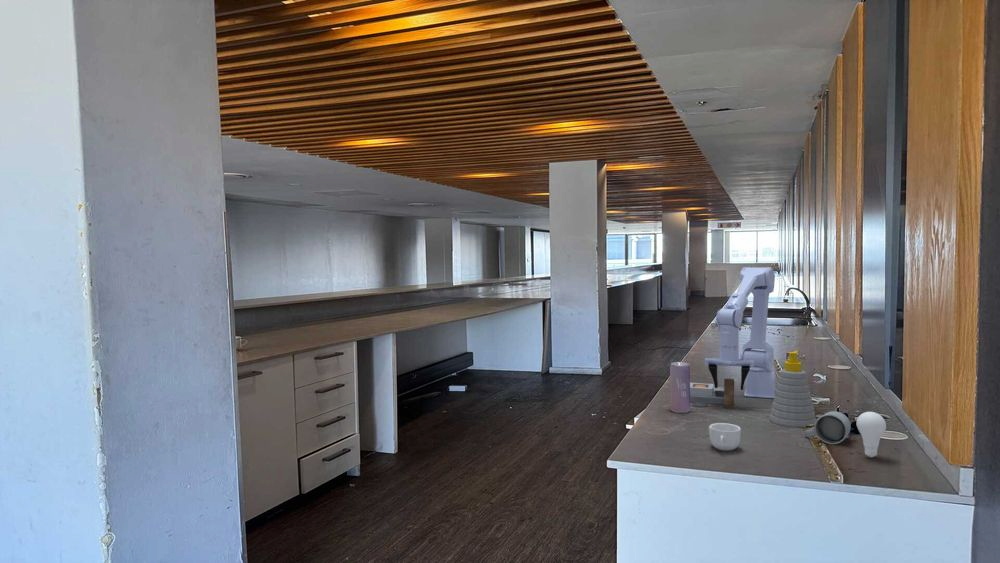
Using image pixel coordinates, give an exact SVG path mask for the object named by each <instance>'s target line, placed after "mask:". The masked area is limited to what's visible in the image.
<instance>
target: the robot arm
mask: <svg viewBox="0 0 1000 563" xmlns="http://www.w3.org/2000/svg"><path fill="white" fill-rule="evenodd" d="M775 278H776V276H775V271H774V269H773V268H772V267H770V266H767V267H753V266H752V267H751V266H750V267H747V266H744V267H742V269H741V270H740V273H739V281H740V284H739V286H738V288H737V290H736V292H733V293H732V294H731V295H730V297H729V299H728V300H727V302H726V303H725V305H724V307H722V308H720V309H719V310H718V311H717V313H716V317H715V322H716V325H717V331H718V332H719V358H718V357H717V358H716V357H714V358H704V366H708V367H707V368H708V371H709V373H710V375H711V377H712V380H713V384H714V387H715V388H718V387H719V385H718V384H719V383H718V382H719V381H718V366H723V367H725V366H726V367H740V368H741V369H740V373H741V374H740V376H741V379H740V391H744V397H749V398H762V399H763V398H766V399H774V396H775V392H776V389H777V386H775V370H773V369H772V368H773V367H774V365H775V355H774V352H775V350H774V348H773V347H772V346H771V344H769V343H768V342H767V341H766V338H767V337H766V336H767V324H768V313H769V312H768V311H769V298H770V294H771V293H773V292H774V289H775V280H776V279H775ZM750 294H752V296H753V299H752V300H753V301H752V311H751V312H752V313H751V322H750V324H751V325H750V338H749V341H747V342H745V343H743V345H742V347H741V353H739V352H740V349H739V348H740V347H739V346H740V345H739V344H740V343H739V341H740V339H739V338H740V337H739V336H740V332H739V330H740V329H739V328H740V326H741V325H742V323H743V317H744V311H745V310H746V308H747V306H748V304H749V299H748V297H749V296H750ZM771 369H772V370H771ZM744 386H745V390H744Z"/></svg>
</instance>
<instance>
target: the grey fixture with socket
mask: <svg viewBox="0 0 1000 563" xmlns="http://www.w3.org/2000/svg"><path fill="white" fill-rule="evenodd" d="M695 385H705V386H706V388H704V387H695ZM714 387H715V384H714V383H701V382H699V383H698V382H690V403H693V402H694V403H705V404H707V403H708V404H711V405H721V406H722V405H724V392H722V391H714Z"/></svg>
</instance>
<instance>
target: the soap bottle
mask: <svg viewBox="0 0 1000 563" xmlns="http://www.w3.org/2000/svg"><path fill="white" fill-rule="evenodd" d="M798 353H800V350H794V351H789V352H788V358H787V360H786V361H784V368H783V369H781V370H780V371H779V376H778V378H777V379H778V380H777V384H776V392H775V396H774V398H773V402H772V408H771V411H770V415H769V420H770V421H771V423H773V424H774V425H775V424H776V425H778V426H782V427H787V428H788V427H790V428H803V427H804V426H807V425H809V424H814V425H815V422H816V420H817V418H816V413H815V409H814V404H813V399H812V393H811V391H810V385H809V381H808V380H809V379H808V377H807V372H806V371H805V370H803V369H802V362H801V361H799V358H798ZM804 428H805V427H804Z"/></svg>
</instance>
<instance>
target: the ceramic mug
mask: <svg viewBox="0 0 1000 563" xmlns="http://www.w3.org/2000/svg"><path fill="white" fill-rule="evenodd" d="M851 429H852V426H851V421H850V419H849V418H848V417H847V416H846V415H845V414H844V413H842V412H840V411H834V410H833V411H832V410H831V411H828V412H826V413H824V414H822V415H820V416H818V417H817V418H816V422H815V425H814V426H813V427H810V428H809V429H806V430H805V431H804V432H803V433H804V434H805V437H806V438H812V437H817V438H818V439H819V440H820V441H821V440H822V441H821V442H823V443H825V444H828V445H838V444H841V443H842V442H844V440H845V439H846V438H847V437H848V435H849V434H850V432H851Z"/></svg>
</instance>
